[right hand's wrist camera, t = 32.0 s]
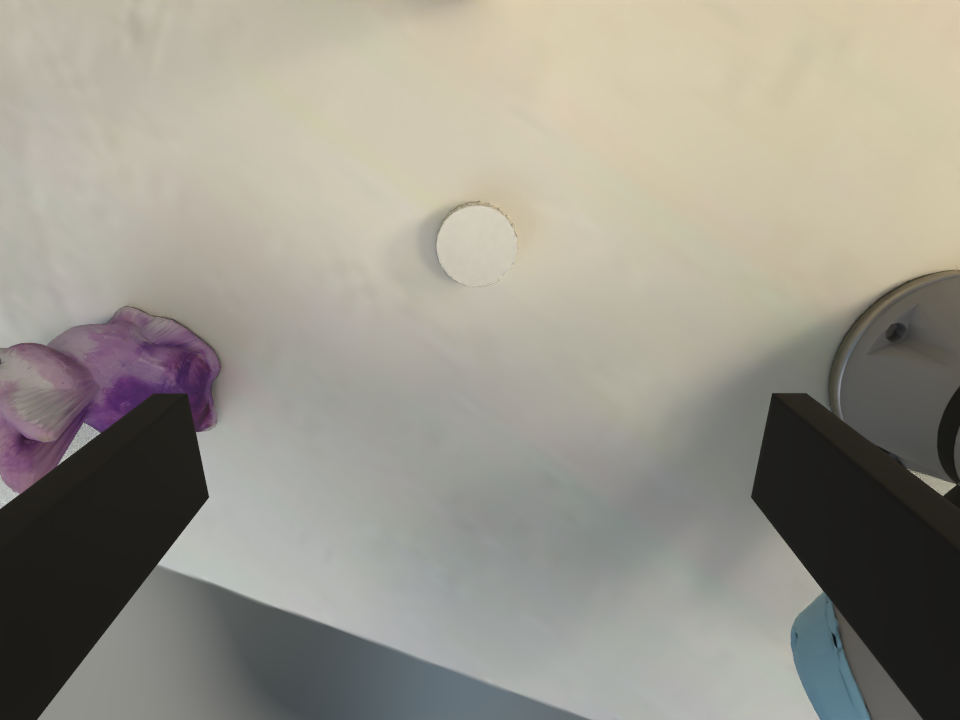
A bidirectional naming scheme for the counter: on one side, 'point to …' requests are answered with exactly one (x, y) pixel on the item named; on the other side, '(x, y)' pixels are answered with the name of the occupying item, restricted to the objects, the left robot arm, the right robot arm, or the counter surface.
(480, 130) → the counter surface
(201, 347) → the figurine
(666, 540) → the counter surface
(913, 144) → the counter surface
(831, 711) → the right robot arm
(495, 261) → the lid
